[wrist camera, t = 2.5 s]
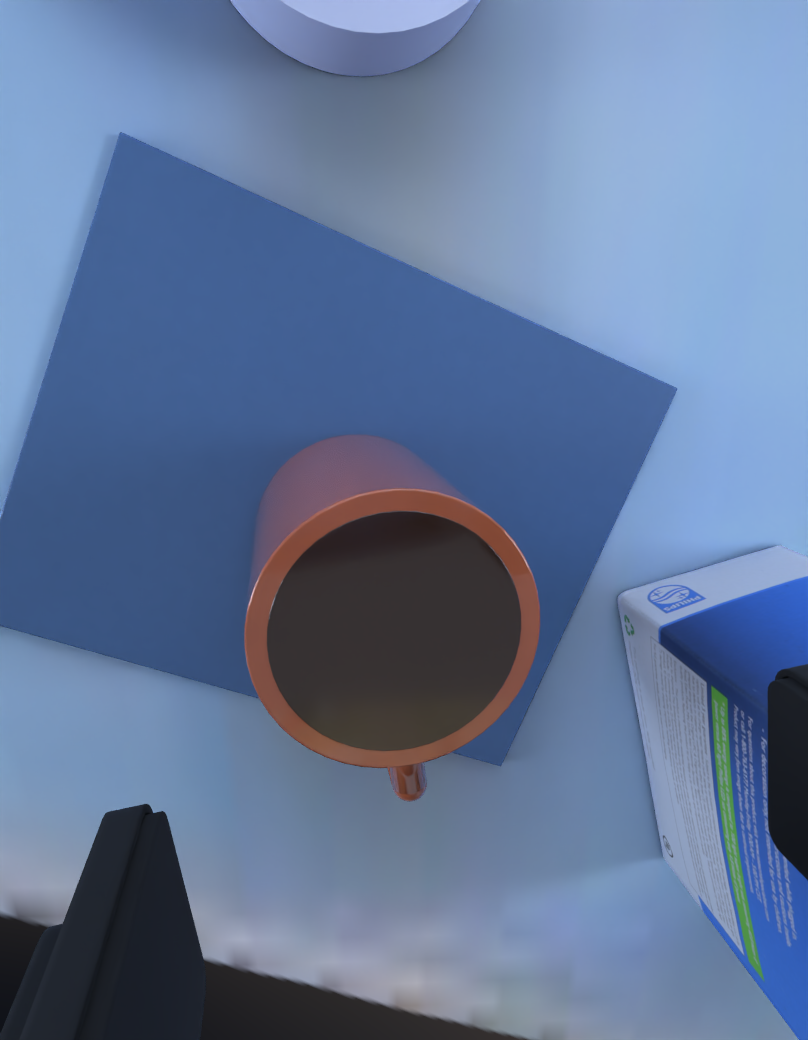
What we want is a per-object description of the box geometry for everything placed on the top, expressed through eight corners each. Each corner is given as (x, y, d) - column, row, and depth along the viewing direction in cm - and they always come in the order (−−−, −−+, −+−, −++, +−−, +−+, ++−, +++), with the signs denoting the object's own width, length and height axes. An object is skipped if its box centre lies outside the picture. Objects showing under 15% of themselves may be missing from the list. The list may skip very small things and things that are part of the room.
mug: (236, 451, 24) (215, 517, 15) (441, 419, 25) (528, 465, 16) (287, 712, 27) (293, 892, 18) (470, 674, 28) (559, 829, 19)
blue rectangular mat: (-28, 613, 24) (-31, 617, 24) (121, 134, 21) (120, 131, 21) (498, 762, 29) (501, 766, 29) (673, 388, 26) (678, 388, 26)
